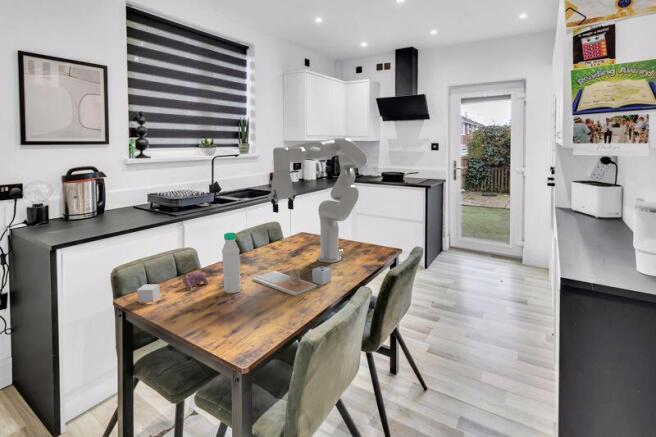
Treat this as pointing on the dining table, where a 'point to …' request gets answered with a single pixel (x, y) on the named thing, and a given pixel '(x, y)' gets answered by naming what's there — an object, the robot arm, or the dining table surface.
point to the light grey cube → (148, 293)
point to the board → (283, 283)
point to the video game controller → (196, 275)
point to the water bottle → (231, 264)
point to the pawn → (294, 278)
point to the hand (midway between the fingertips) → (283, 210)
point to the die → (321, 275)
